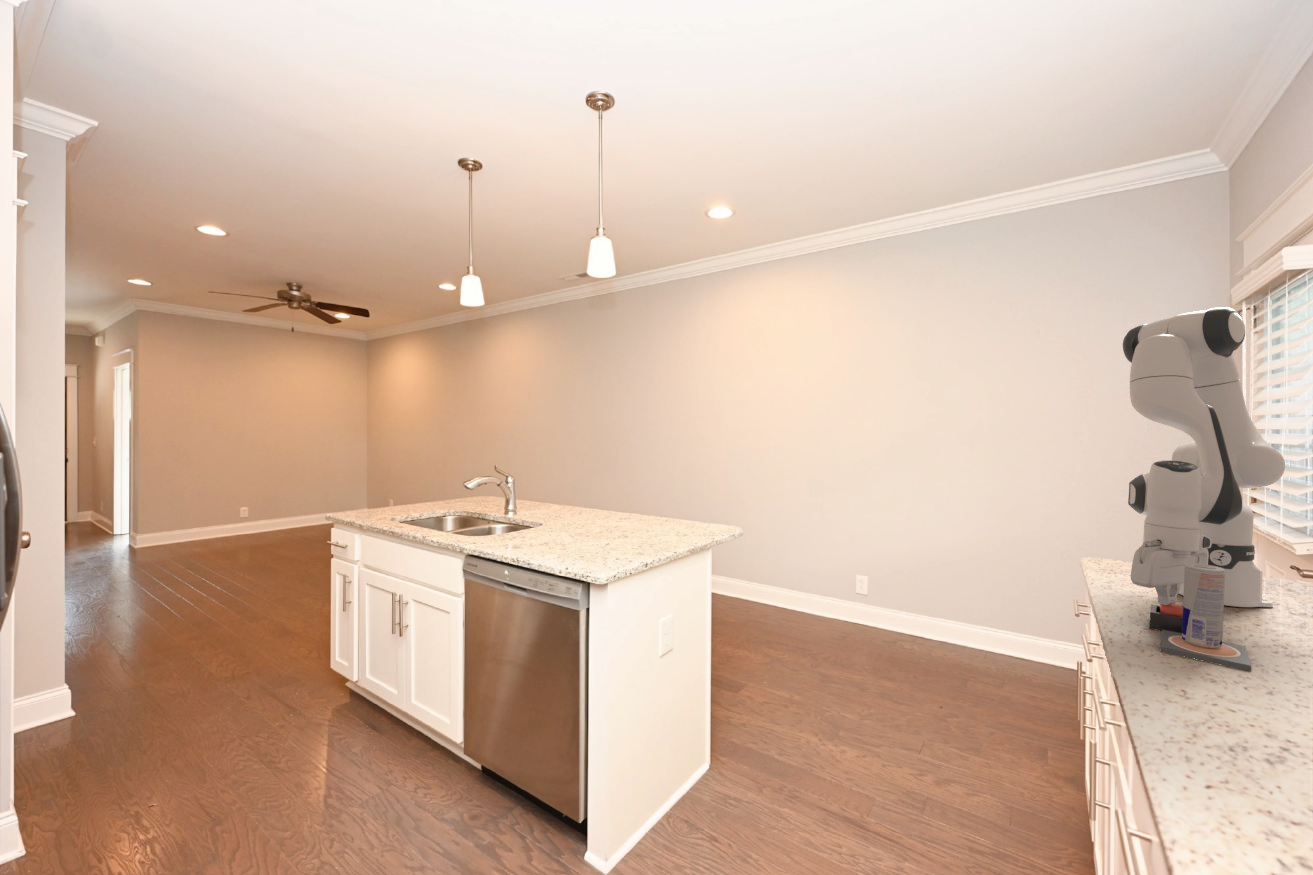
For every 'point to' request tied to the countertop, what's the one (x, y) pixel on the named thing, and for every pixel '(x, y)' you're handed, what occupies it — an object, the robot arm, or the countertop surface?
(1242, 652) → the picture board
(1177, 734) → the countertop surface
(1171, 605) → the button
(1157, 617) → the button housing
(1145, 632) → the countertop surface
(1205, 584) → the beverage can
